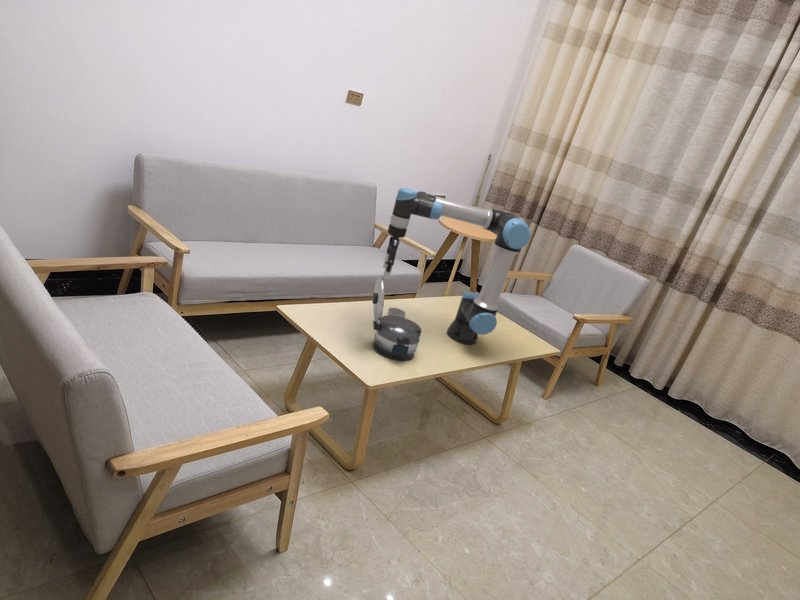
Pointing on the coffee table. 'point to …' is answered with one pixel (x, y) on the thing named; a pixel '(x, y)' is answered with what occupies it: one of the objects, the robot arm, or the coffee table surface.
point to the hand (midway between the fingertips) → (385, 273)
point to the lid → (378, 299)
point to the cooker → (396, 338)
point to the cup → (396, 312)
